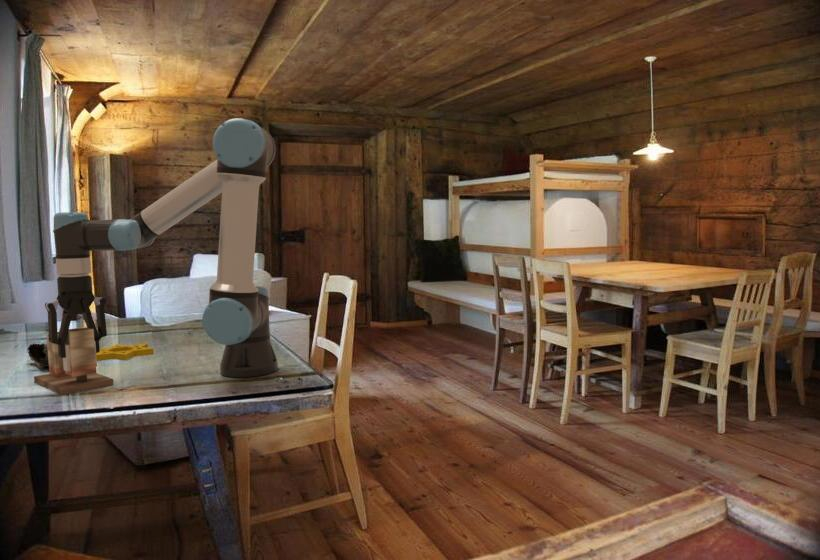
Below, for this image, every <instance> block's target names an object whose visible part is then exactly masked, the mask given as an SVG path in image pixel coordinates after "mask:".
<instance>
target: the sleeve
mask: <svg viewBox="0 0 820 560" xmlns="http://www.w3.org/2000/svg"><path fill="white" fill-rule="evenodd" d="M66 344H68V345H69V349H70V364H71V371H65V374H67V375H70V376H72V377H76V376H81V375H87V374H93V373H97V367H96V358H95V343H94V329H90V328H87V326H83V327H75V328H74V327H73V328H69V331H68V335H67V340H66Z"/></svg>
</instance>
